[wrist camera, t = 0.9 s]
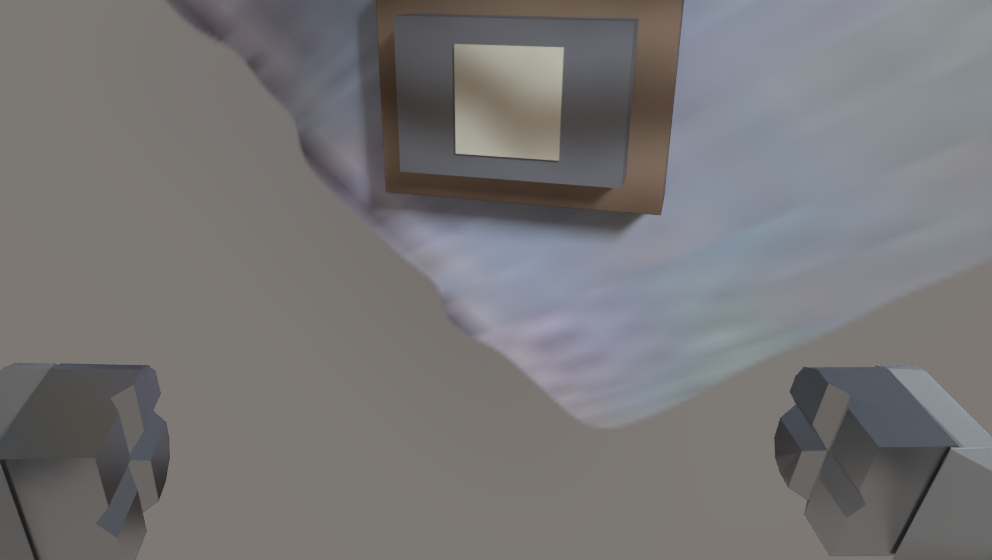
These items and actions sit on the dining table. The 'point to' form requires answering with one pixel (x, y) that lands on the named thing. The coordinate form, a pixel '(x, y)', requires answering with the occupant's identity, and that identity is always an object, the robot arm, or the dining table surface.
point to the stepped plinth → (530, 100)
